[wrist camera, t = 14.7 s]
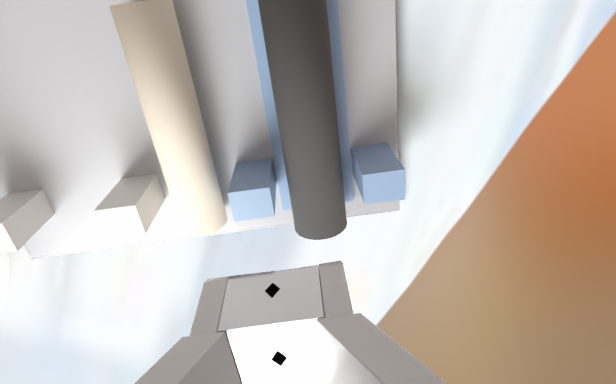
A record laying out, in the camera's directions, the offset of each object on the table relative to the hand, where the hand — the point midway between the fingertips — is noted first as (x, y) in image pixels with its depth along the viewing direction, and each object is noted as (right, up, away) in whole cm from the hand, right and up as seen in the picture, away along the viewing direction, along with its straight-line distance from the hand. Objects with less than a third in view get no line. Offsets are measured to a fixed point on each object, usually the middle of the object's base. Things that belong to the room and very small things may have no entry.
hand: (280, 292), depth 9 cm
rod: (-8, +7, +17) cm, 20 cm away
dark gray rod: (0, +8, +17) cm, 18 cm away
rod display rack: (-8, +7, +18) cm, 21 cm away
